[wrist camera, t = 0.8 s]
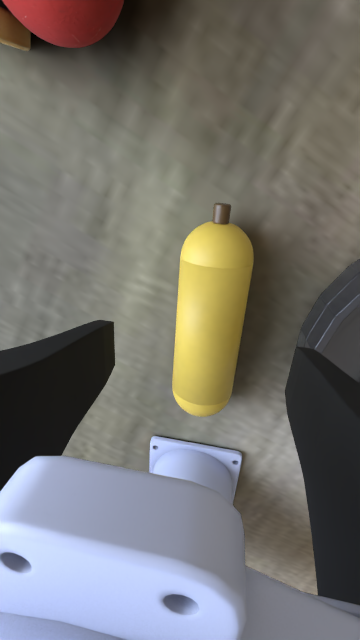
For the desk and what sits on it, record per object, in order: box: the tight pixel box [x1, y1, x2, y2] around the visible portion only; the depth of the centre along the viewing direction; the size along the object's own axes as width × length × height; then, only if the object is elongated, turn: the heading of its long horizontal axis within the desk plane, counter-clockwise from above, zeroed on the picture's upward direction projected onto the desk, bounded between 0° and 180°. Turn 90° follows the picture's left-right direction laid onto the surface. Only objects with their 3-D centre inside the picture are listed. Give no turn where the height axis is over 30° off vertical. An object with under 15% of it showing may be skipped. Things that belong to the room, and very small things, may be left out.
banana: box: [172, 203, 254, 417], centre depth 19 cm, size 14×4×4 cm, turn 176°
